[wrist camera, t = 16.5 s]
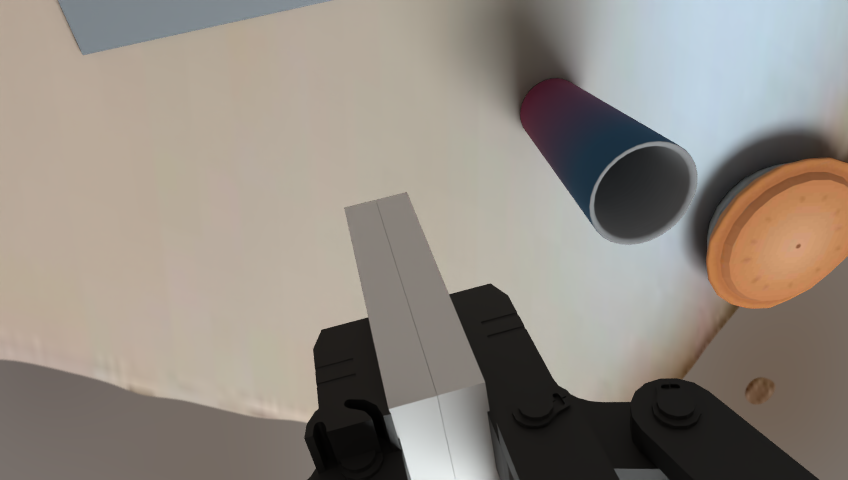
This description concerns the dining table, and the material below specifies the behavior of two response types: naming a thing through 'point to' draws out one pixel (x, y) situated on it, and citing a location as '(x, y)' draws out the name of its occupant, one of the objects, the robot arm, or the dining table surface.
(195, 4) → the card
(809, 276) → the pie
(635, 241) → the cup
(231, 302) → the dining table surface
